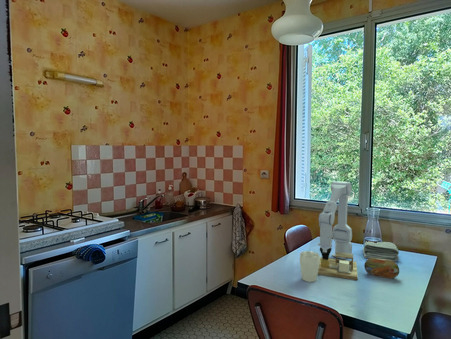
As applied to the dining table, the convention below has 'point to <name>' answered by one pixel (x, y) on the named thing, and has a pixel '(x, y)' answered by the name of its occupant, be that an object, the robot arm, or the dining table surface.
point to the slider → (326, 264)
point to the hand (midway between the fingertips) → (325, 262)
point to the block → (344, 266)
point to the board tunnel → (335, 262)
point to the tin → (381, 268)
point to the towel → (381, 250)
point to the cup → (309, 265)
